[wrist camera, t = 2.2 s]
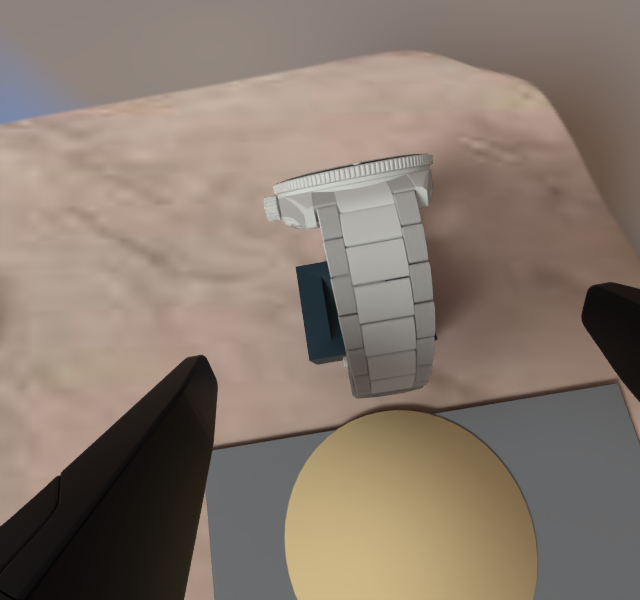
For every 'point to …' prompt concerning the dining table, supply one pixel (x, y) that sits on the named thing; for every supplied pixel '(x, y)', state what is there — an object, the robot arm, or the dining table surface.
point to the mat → (436, 506)
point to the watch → (366, 270)
